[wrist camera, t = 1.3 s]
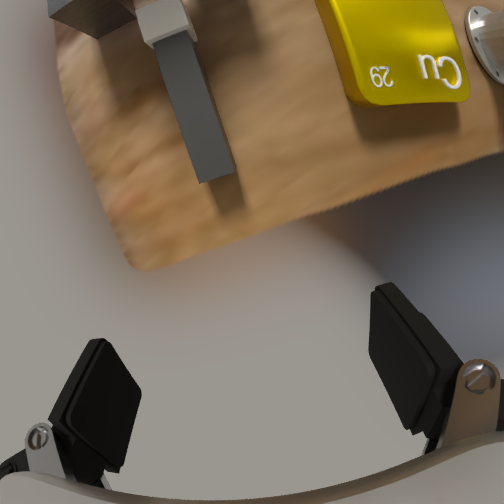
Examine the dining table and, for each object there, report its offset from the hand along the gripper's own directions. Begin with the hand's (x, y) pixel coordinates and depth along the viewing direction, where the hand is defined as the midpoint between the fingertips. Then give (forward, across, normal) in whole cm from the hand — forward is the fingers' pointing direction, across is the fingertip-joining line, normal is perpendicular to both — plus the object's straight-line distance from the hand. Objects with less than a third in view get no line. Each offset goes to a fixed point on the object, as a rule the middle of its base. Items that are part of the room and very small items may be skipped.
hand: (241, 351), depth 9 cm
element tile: (+21, -20, -15) cm, 33 cm away
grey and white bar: (+21, +2, -12) cm, 25 cm away
